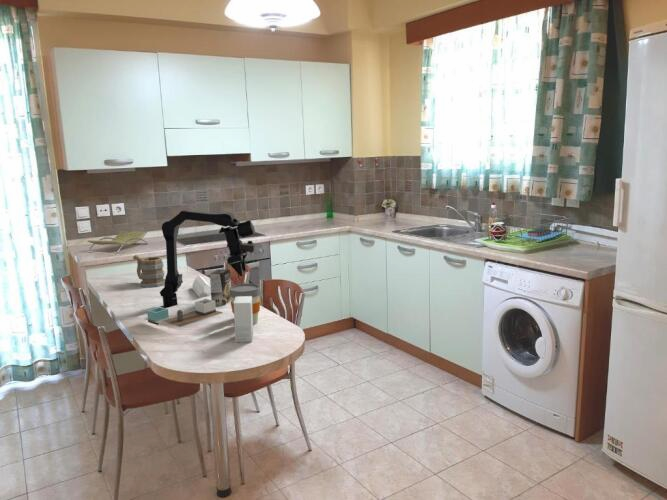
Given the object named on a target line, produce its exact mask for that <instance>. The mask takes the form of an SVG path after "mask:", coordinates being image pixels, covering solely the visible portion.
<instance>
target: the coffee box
mask: <svg viewBox="0 0 667 500" xmlns="http://www.w3.org/2000/svg"><path fill="white" fill-rule="evenodd" d="M209 277H210V278H209V280H210V281H209V282H210V284H209V285H210V287H211V295H210V300H213V301H215V305H216V306H219V307H224V306H226V305H228V304H229V303H231V297H230V287H232V282H231V280H232V278H231V269H223V268H222V269H216V270H214V271H212V272H210V273H209Z"/></svg>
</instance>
